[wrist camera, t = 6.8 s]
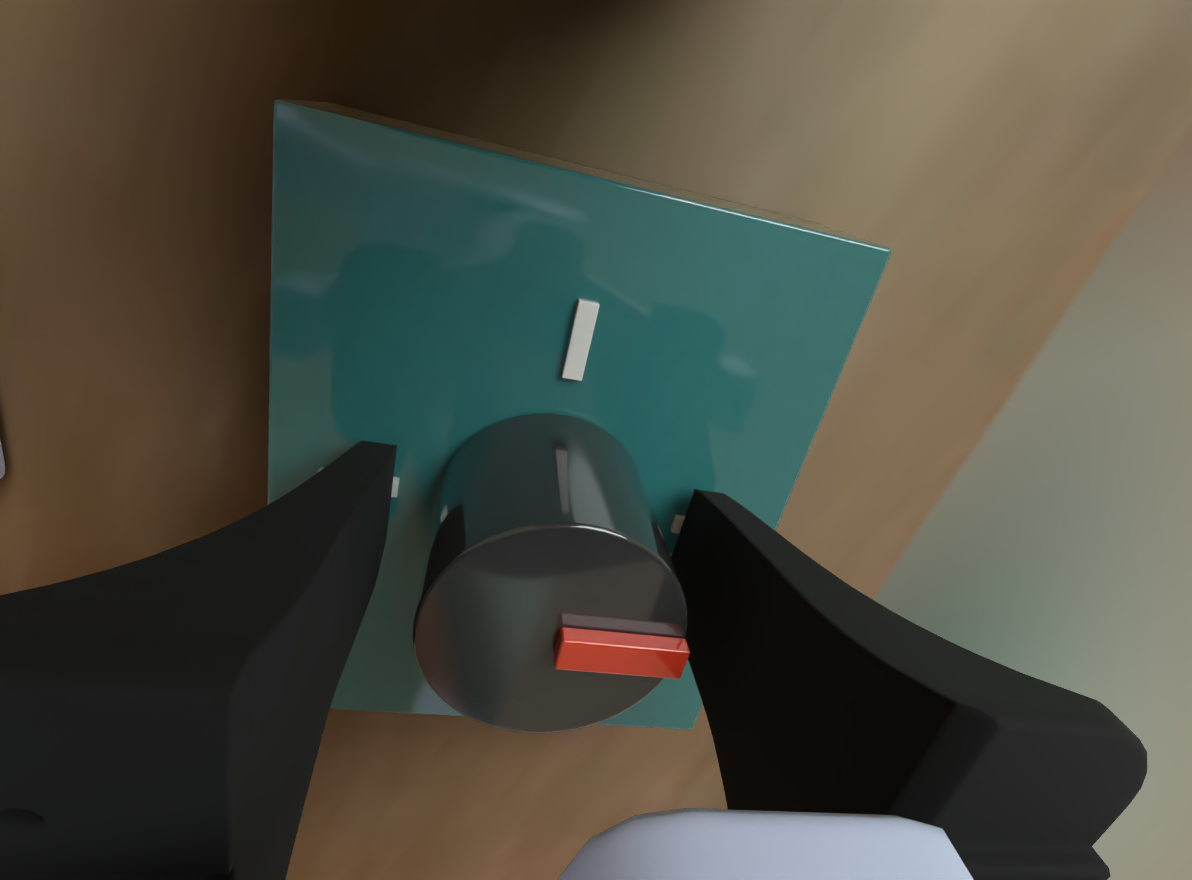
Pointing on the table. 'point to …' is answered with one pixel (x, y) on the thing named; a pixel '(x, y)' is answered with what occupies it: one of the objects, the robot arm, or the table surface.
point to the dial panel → (535, 338)
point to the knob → (546, 580)
